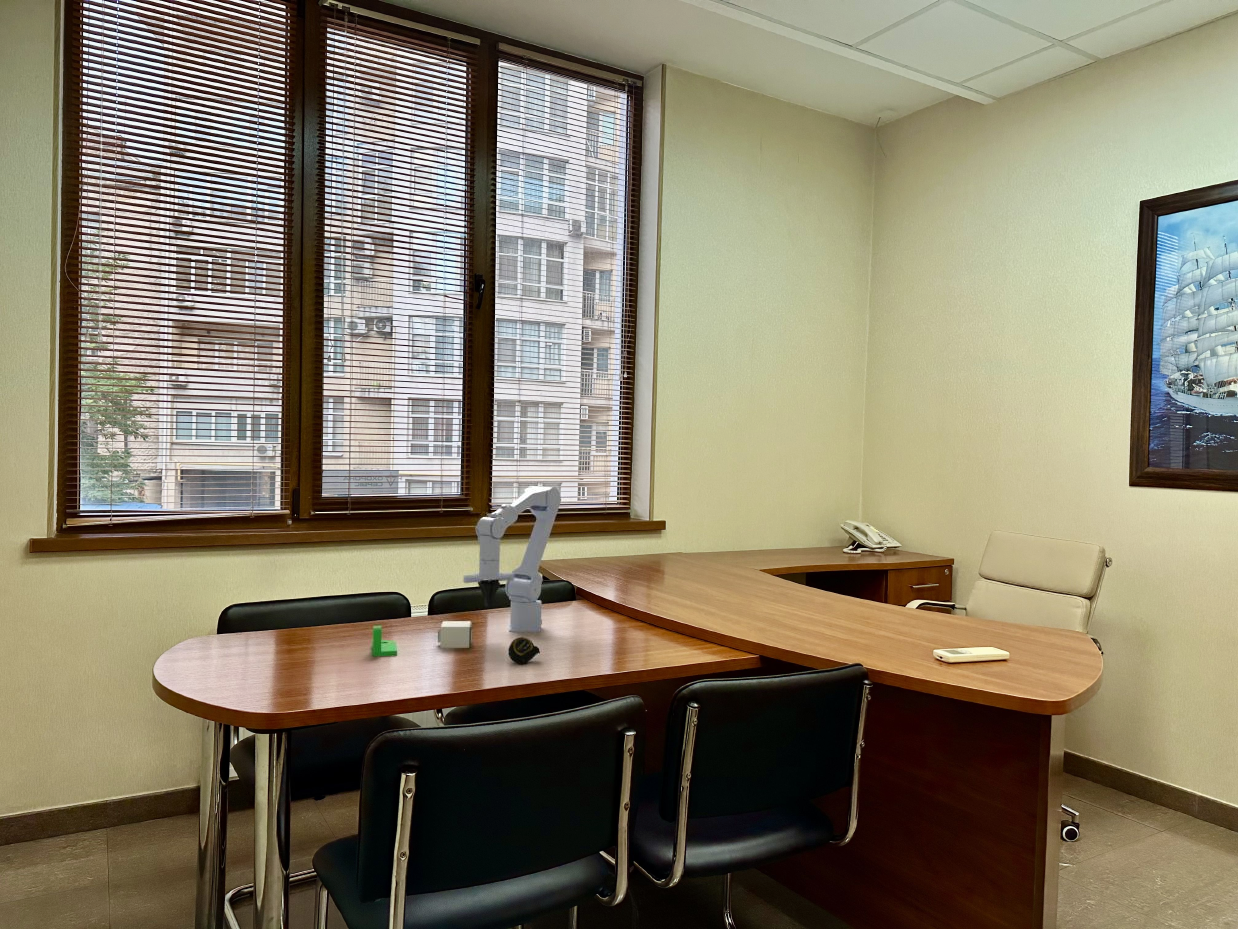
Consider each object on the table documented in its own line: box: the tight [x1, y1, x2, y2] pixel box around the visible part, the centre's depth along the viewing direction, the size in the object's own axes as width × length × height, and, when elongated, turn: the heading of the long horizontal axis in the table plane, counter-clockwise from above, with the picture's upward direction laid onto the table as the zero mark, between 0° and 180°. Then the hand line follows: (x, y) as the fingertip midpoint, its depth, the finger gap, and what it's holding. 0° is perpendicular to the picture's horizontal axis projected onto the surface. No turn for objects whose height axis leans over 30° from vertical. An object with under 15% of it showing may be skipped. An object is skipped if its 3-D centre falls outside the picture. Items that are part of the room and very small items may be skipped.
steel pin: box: [437, 628, 473, 644], centre depth 238 cm, size 9×4×4 cm, turn 97°
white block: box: [440, 620, 473, 649], centre depth 238 cm, size 8×7×6 cm
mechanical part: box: [372, 625, 398, 657], centre depth 230 cm, size 12×6×8 cm, turn 17°
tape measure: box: [507, 636, 541, 666], centre depth 221 cm, size 7×7×4 cm
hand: (488, 606), depth 247 cm, fingers closed
